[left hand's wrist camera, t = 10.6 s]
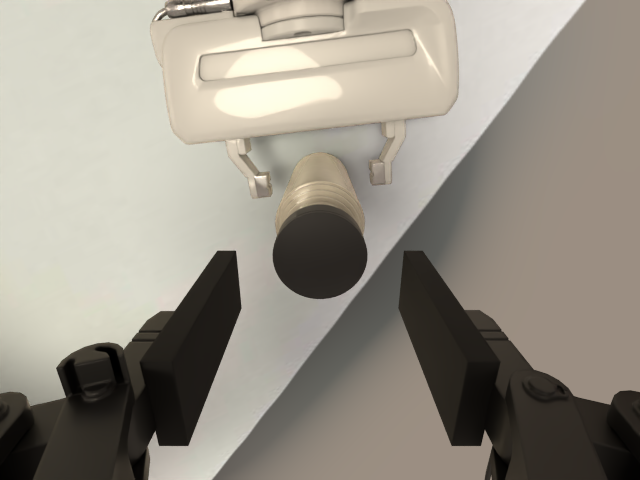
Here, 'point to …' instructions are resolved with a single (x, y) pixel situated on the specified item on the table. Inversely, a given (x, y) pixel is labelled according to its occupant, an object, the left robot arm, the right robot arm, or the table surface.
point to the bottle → (319, 188)
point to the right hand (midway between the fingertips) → (321, 190)
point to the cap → (320, 252)
